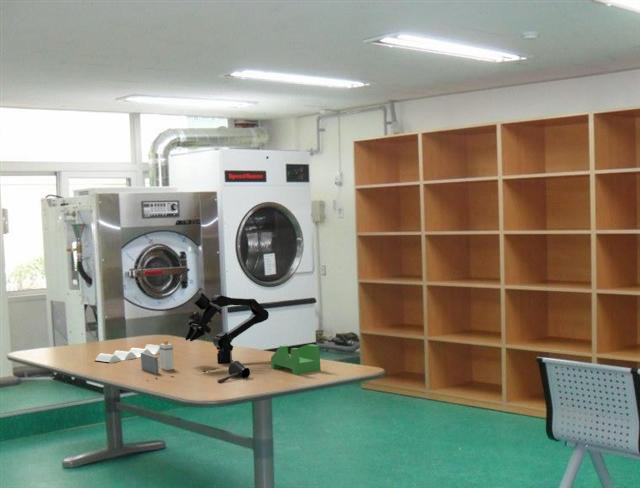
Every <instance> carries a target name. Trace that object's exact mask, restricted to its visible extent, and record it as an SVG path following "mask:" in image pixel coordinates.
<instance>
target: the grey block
mask: <svg viewBox="0 0 640 488" xmlns="http://www.w3.org/2000/svg"><path fill="white" fill-rule="evenodd" d="M140 360H141V361H140V362H141V363H140V364H141V370H144V371H147V372H149V373H152V374H155V375H158V374H159V369H161V362H160V359H158V356H155V355H149V354H146V353H141V357H140Z"/></svg>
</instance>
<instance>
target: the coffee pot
mask: <svg viewBox="0 0 640 488" xmlns="http://www.w3.org/2000/svg"><path fill="white" fill-rule="evenodd" d="M227 370H228V371H227V372H228V374H229V375H228V376H225V377H222V378H217V380H216V381H217V384H222V383H224V382H226V381H228V380H230V379H232V378H242V379H247V378H249V377H250V375H251V374H250V373H251V370H250V368H249V367H245V365H243V364H242V363H241V361H239V360H233V361H232V362H231V363H229V366H228V369H227Z"/></svg>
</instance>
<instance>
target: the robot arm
mask: <svg viewBox="0 0 640 488" xmlns="http://www.w3.org/2000/svg"><path fill="white" fill-rule="evenodd" d="M192 304H193V305H195V306H196V307H197V308H198V309H199V311H200V310H203V311H202V313H200V312H198V311H195V312H192V311H188V312H187V315H186V319H189V320H188V321H187V322H186V323H185V325H186V326H187V327H188V331H187V333H186V337H185V339H184V340H185V341H188V340H189V341H190V342H194V341H195V340H197V339H199V338H201V337H203V336H205V335H209V334H210V333H211V331H212V329H211V327H210V326H209V323H210V324H211V323H212V320H213V318H214V317H215V316H216V315H222V311H221V310H222V309H221V308H222V307H228V306H241V307H242V306H243V307H248V308H249V309H250V311H251V314H250V315H249V317H248V318H246V319H245V320H244V321H242V322H240V323H239V324H237V325H236V326H235V327H233V328H232V329H230V330H229V331H220V332H219V333H218V334H215V335H214V336H215V337H214V338H213V340H212V343H213V346H214V347H215V348H216V350H217V355H216V357H217V364H231V363H232V362H234V359H233V356H232V355H233V353H232V351H233V349H234V346H233V345H232V341H234V339H235V338H237V337H238V336H240V335H242V333H244V332H246V331H247V330H248V329H250V328H252V327H253V326H254V325H256V324H257V325H258V324H261V323H263V322H266V321H267V320H269V316H270V315H269V314H270V313H269V312H268V310H267V309H265V308H264V307H263V306H262V305H261V304H260V303H259V302H258V301H257V300H256V299H255V298H240V297H238V298H235V297H229V296H225V295H222V294H221V295H220V294H215V295H213V297H211V298H209V297H207V296H206V295H205V294H204V292H200V293H199V294H198V295H196V296H195V297H194V298H193V300H192ZM218 307H219V308H218Z"/></svg>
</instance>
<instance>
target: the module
mask: <svg viewBox="0 0 640 488" xmlns="http://www.w3.org/2000/svg"><path fill="white" fill-rule="evenodd" d="M158 345H159V346H160V354H159V358H160V359H159V360H160V369H161V370H163V371H164V370H165V371H170V370H174V369H175V363H174V347H173V344H172V343H169V340H167V339H166V340H163V343H159V344H158Z"/></svg>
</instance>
